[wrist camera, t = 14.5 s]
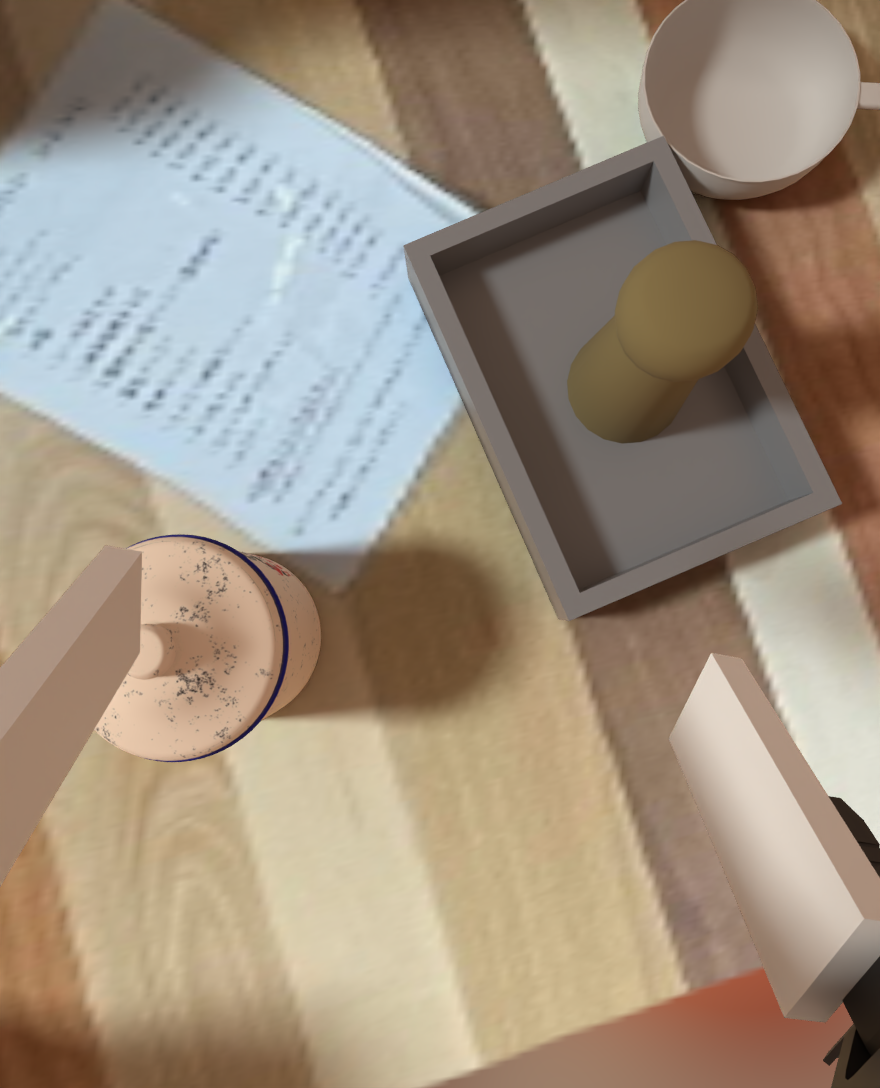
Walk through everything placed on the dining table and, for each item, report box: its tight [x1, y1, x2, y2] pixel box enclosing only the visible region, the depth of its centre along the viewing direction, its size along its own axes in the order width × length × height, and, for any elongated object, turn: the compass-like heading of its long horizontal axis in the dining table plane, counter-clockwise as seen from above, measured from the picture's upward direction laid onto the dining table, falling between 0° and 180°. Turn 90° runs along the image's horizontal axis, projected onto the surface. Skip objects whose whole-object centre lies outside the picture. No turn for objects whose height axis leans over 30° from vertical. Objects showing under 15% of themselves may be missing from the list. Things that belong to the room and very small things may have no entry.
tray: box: [404, 136, 842, 621], centre depth 35 cm, size 20×14×4 cm
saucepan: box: [638, 0, 880, 200], centre depth 36 cm, size 11×18×4 cm, turn 83°
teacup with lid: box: [94, 535, 321, 762], centre depth 31 cm, size 12×9×12 cm
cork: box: [567, 240, 758, 443], centre depth 31 cm, size 6×6×11 cm
